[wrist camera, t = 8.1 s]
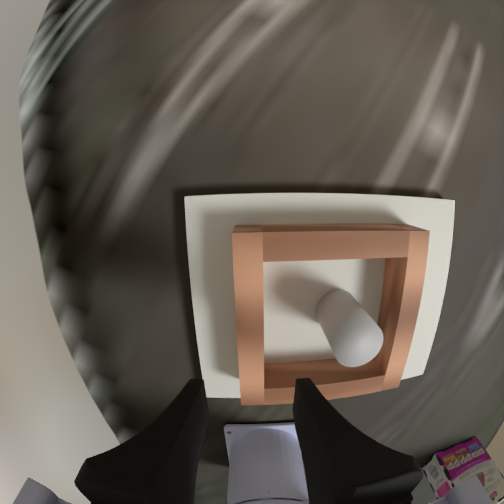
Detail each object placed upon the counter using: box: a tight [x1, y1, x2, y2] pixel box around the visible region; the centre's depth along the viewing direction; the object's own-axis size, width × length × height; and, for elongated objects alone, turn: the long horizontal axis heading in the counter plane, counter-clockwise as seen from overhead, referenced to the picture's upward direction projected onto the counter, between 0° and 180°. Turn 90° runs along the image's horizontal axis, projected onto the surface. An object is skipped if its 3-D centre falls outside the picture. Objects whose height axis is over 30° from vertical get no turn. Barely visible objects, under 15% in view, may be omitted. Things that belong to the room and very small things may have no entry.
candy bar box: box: [422, 437, 504, 504], centre depth 20 cm, size 11×5×16 cm, turn 85°
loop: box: [232, 223, 430, 405], centre depth 17 cm, size 12×12×3 cm
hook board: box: [184, 192, 455, 398], centre depth 17 cm, size 16×20×6 cm
